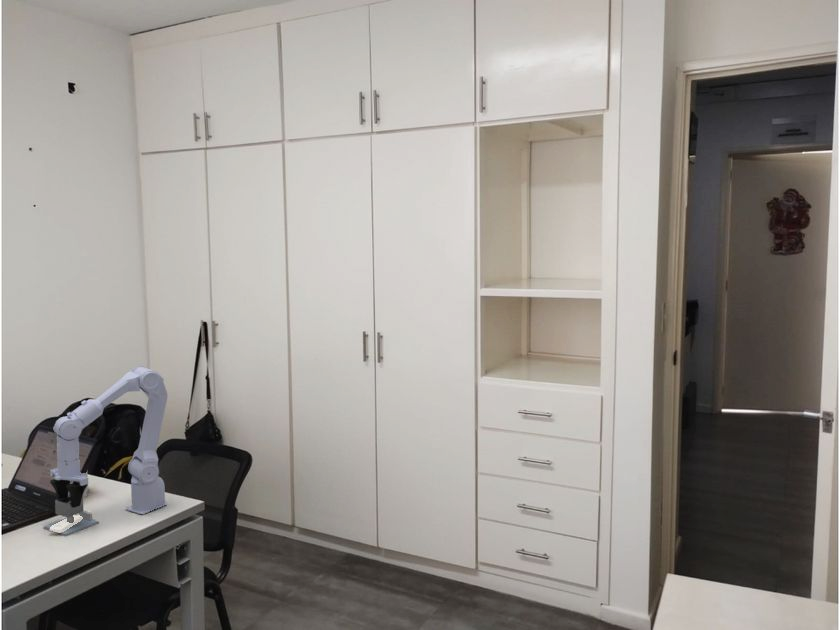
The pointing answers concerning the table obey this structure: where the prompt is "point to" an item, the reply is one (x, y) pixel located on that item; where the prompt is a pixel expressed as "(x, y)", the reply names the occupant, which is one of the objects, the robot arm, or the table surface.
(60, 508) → the grey open box
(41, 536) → the table surface
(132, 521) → the table surface
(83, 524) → the keeper
